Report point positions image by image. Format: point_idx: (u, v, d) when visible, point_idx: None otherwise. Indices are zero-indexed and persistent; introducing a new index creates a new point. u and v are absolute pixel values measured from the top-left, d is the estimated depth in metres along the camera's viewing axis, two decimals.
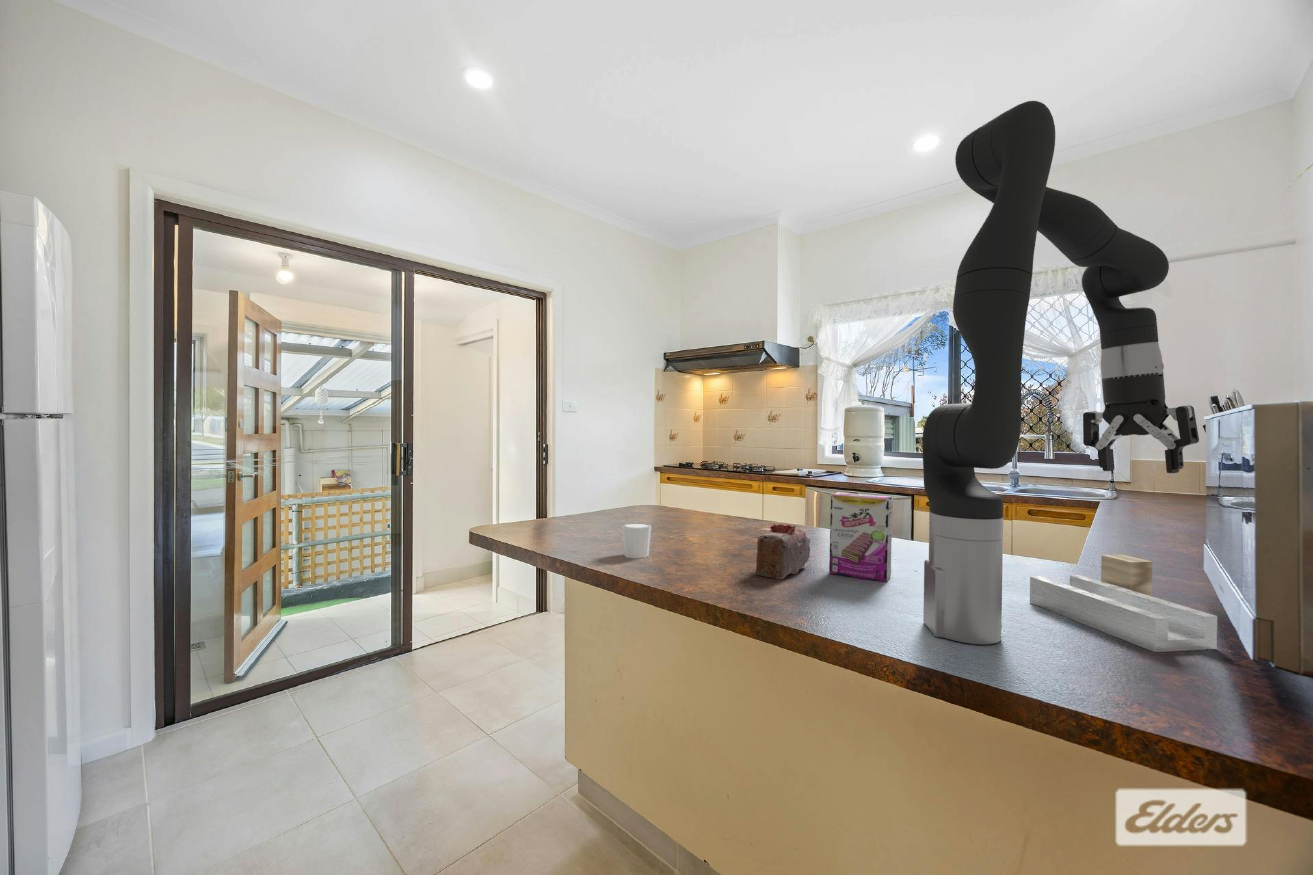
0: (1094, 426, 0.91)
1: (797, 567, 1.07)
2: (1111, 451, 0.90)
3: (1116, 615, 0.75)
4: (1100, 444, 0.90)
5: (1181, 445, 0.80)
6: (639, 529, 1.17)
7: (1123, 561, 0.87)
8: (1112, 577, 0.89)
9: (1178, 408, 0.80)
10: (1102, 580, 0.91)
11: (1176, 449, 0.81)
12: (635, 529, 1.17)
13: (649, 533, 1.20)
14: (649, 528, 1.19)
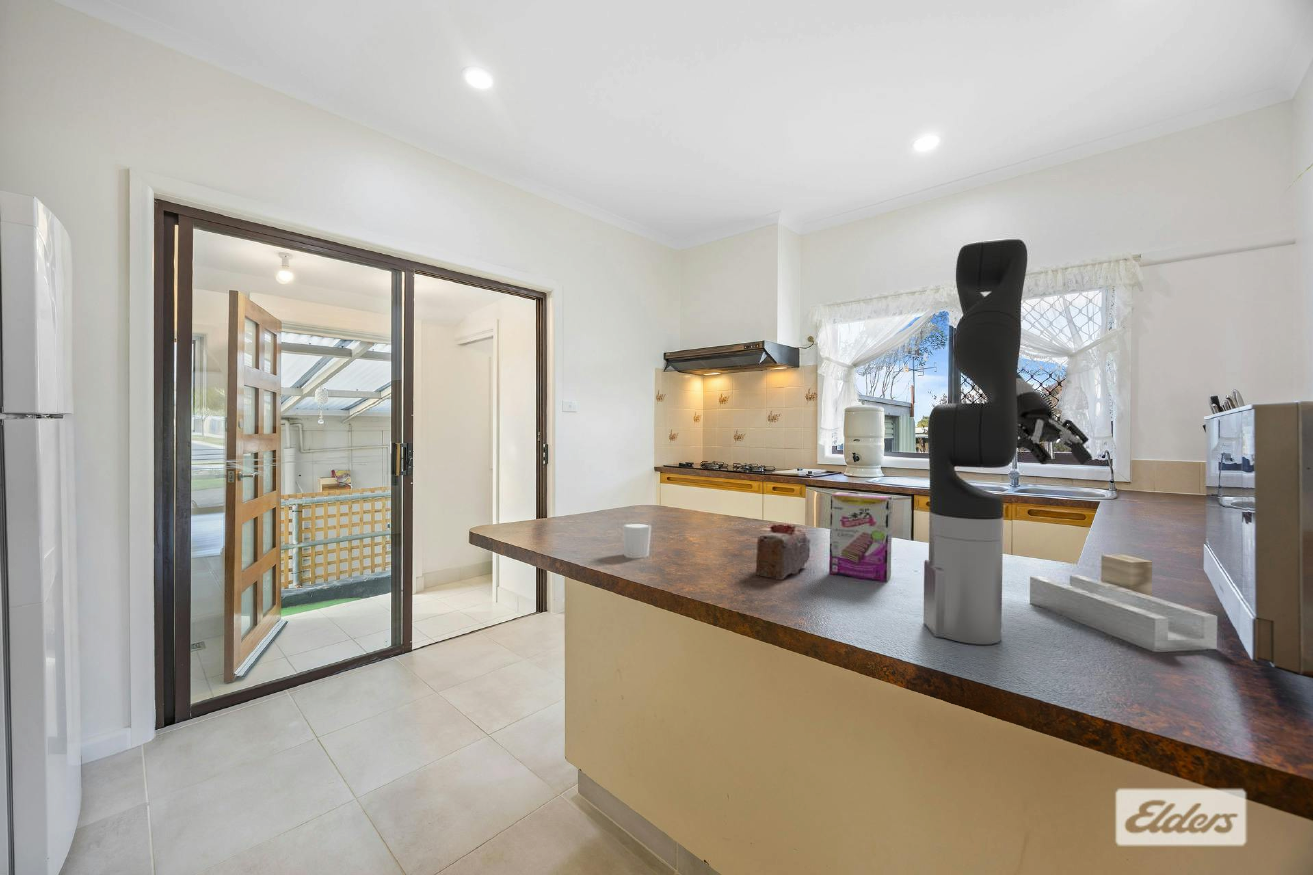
0: None
1: (797, 567, 1.07)
2: None
3: (1116, 615, 0.75)
4: (1035, 439, 1.02)
5: (1082, 442, 1.03)
6: (639, 529, 1.17)
7: (1123, 561, 0.87)
8: (1112, 577, 0.89)
9: (1067, 420, 1.06)
10: (1102, 580, 0.91)
11: (1081, 444, 1.02)
12: (635, 529, 1.17)
13: (649, 533, 1.20)
14: (649, 528, 1.19)
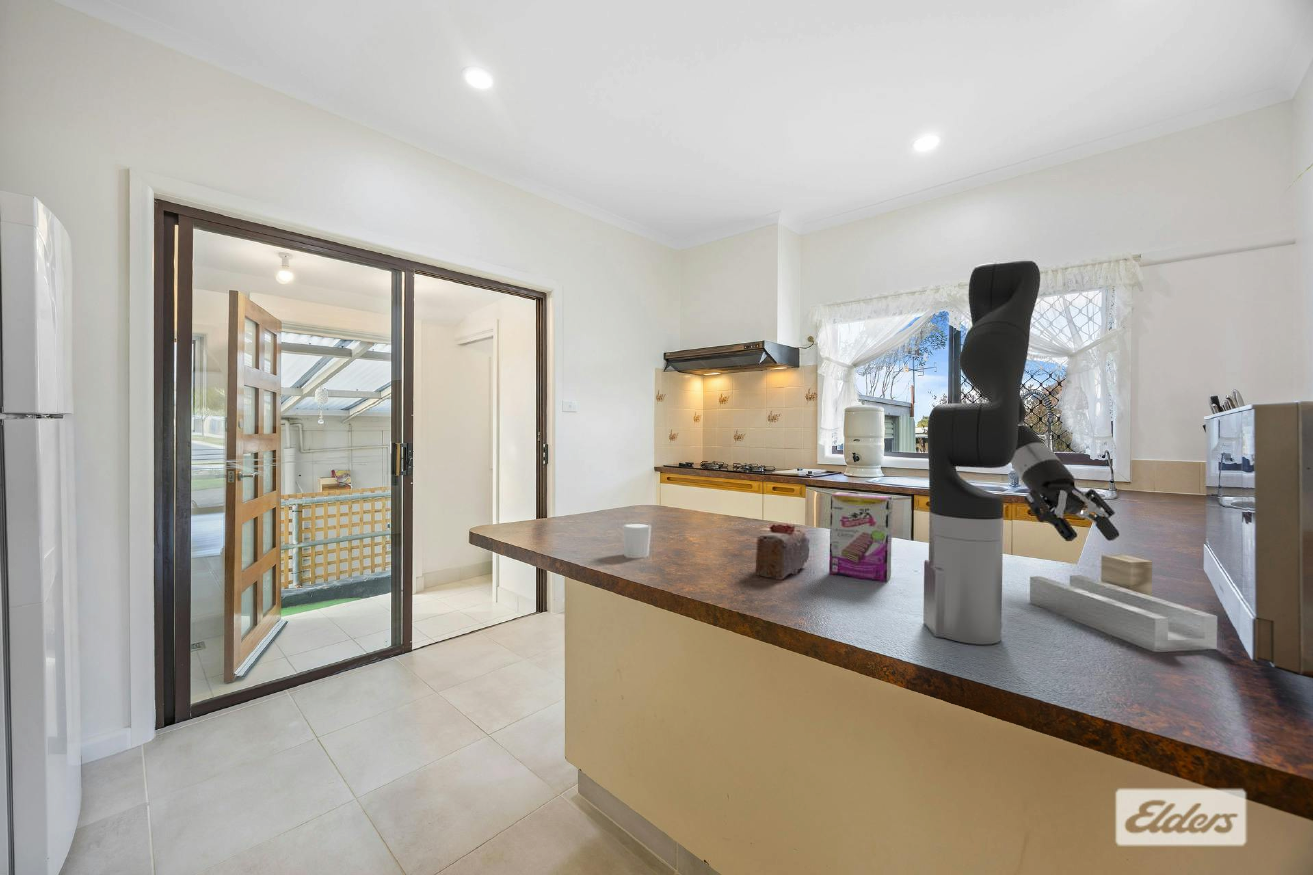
0: None
1: (796, 567, 1.07)
2: None
3: (1116, 615, 0.75)
4: (1059, 513, 0.96)
5: (1108, 516, 0.98)
6: (639, 529, 1.17)
7: (1123, 561, 0.87)
8: (1112, 577, 0.89)
9: (1091, 490, 1.01)
10: (1102, 580, 0.91)
11: (1107, 519, 0.97)
12: (635, 529, 1.17)
13: (649, 533, 1.20)
14: (649, 528, 1.19)
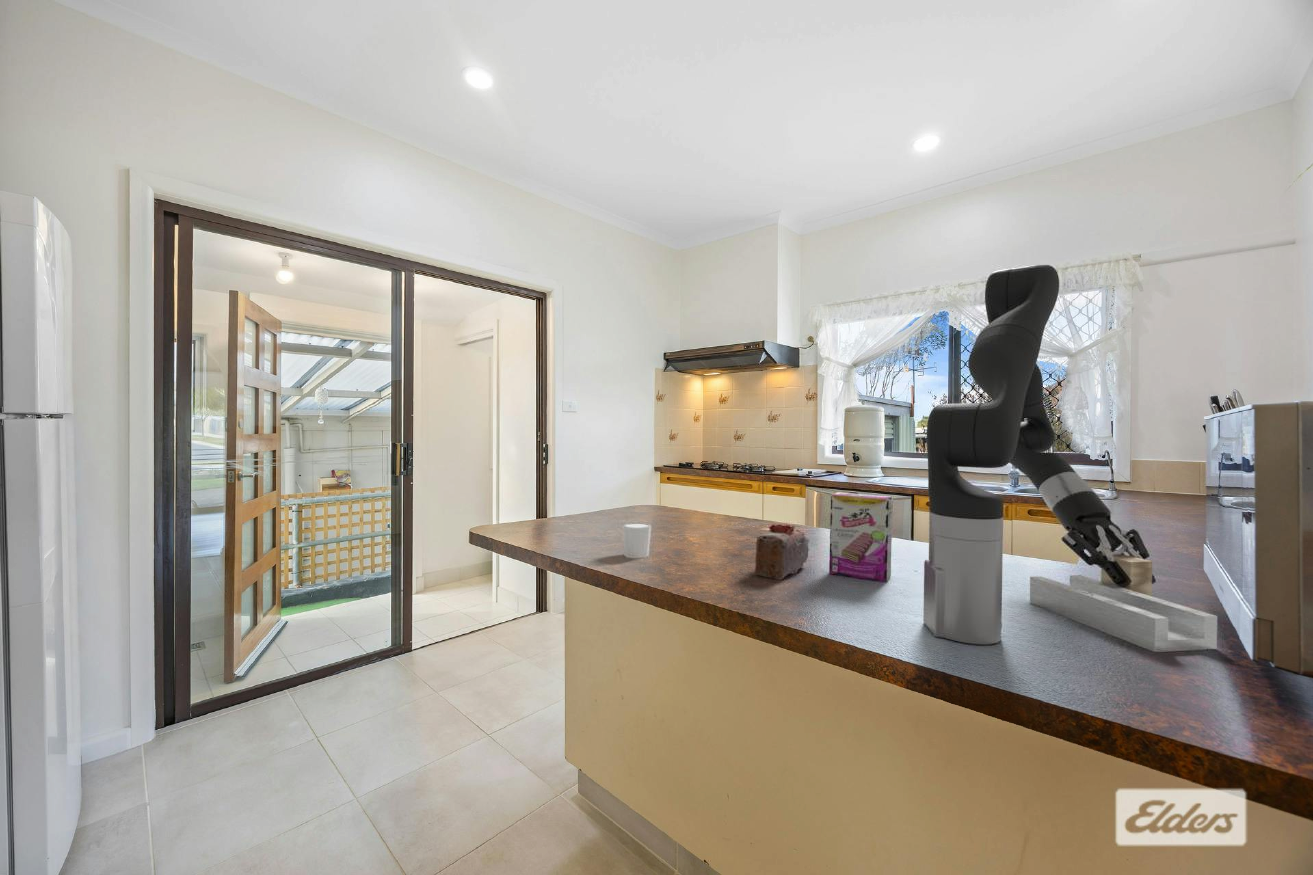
0: None
1: (796, 567, 1.07)
2: None
3: (1116, 615, 0.75)
4: (1109, 556, 0.89)
5: None
6: (639, 529, 1.17)
7: (1123, 561, 0.87)
8: None
9: (1133, 529, 0.93)
10: (1102, 580, 0.91)
11: None
12: (635, 529, 1.17)
13: (649, 533, 1.20)
14: (649, 528, 1.19)
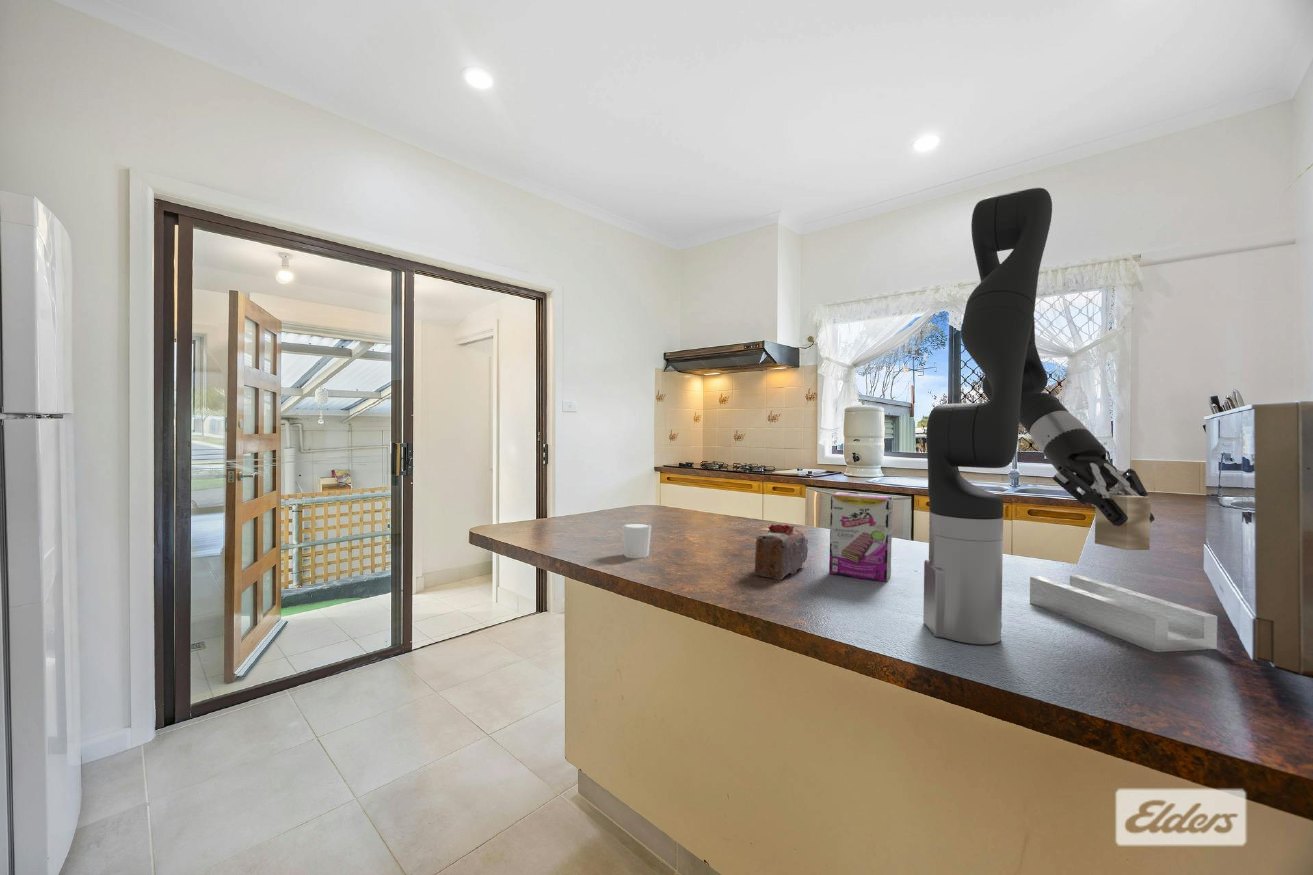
0: None
1: (795, 567, 1.07)
2: None
3: (1116, 615, 0.75)
4: (1104, 493, 0.82)
5: None
6: (639, 529, 1.17)
7: (1119, 497, 0.80)
8: None
9: (1130, 469, 0.86)
10: (1096, 521, 0.84)
11: None
12: (635, 529, 1.17)
13: (649, 533, 1.20)
14: (649, 528, 1.19)
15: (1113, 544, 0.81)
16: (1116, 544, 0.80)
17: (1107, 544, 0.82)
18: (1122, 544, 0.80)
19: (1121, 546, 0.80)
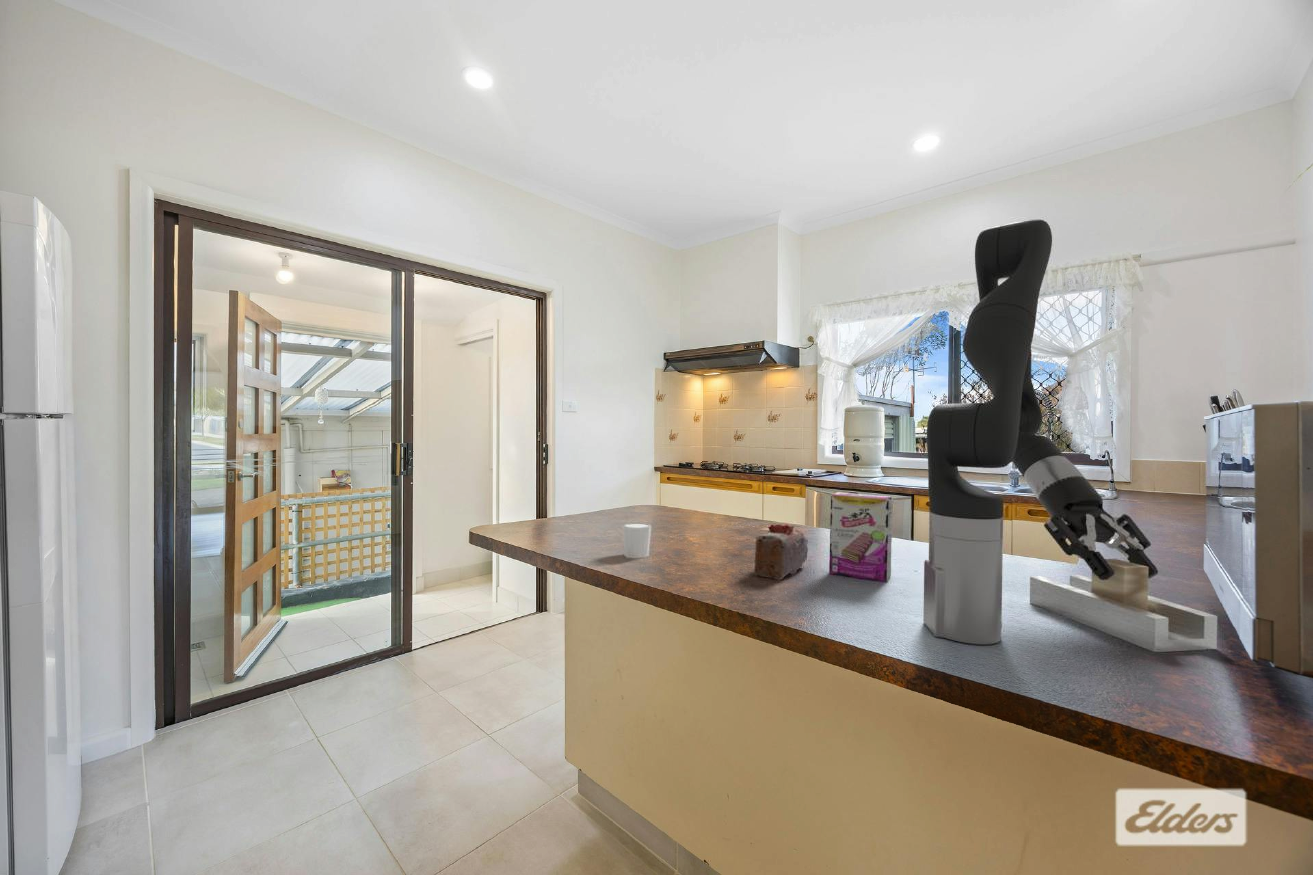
0: None
1: (795, 567, 1.06)
2: None
3: (1116, 615, 0.75)
4: (1091, 545, 0.79)
5: None
6: (639, 529, 1.17)
7: (1116, 566, 0.78)
8: (1103, 585, 0.79)
9: (1124, 515, 0.84)
10: (1092, 587, 0.81)
11: (1142, 551, 0.80)
12: (635, 529, 1.17)
13: (649, 533, 1.20)
14: (649, 528, 1.19)
15: None
16: None
17: None
18: None
19: None
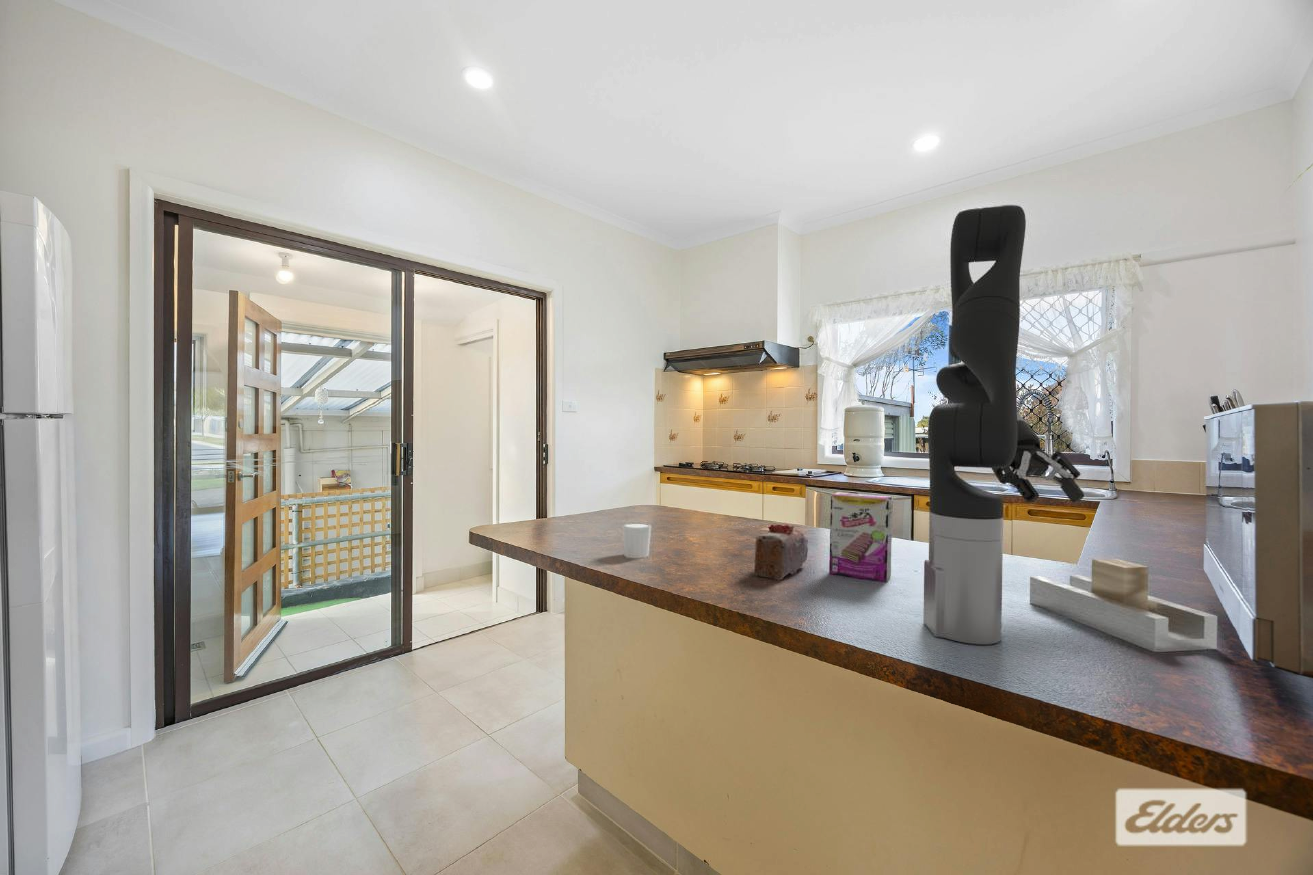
0: None
1: (795, 567, 1.06)
2: None
3: (1116, 615, 0.75)
4: (1021, 474, 0.92)
5: (1073, 477, 0.93)
6: (639, 529, 1.17)
7: (1116, 566, 0.78)
8: (1103, 585, 0.79)
9: (1057, 451, 0.96)
10: (1092, 587, 0.81)
11: (1072, 480, 0.92)
12: (635, 529, 1.17)
13: (649, 533, 1.20)
14: (649, 528, 1.19)
15: None
16: None
17: None
18: None
19: None
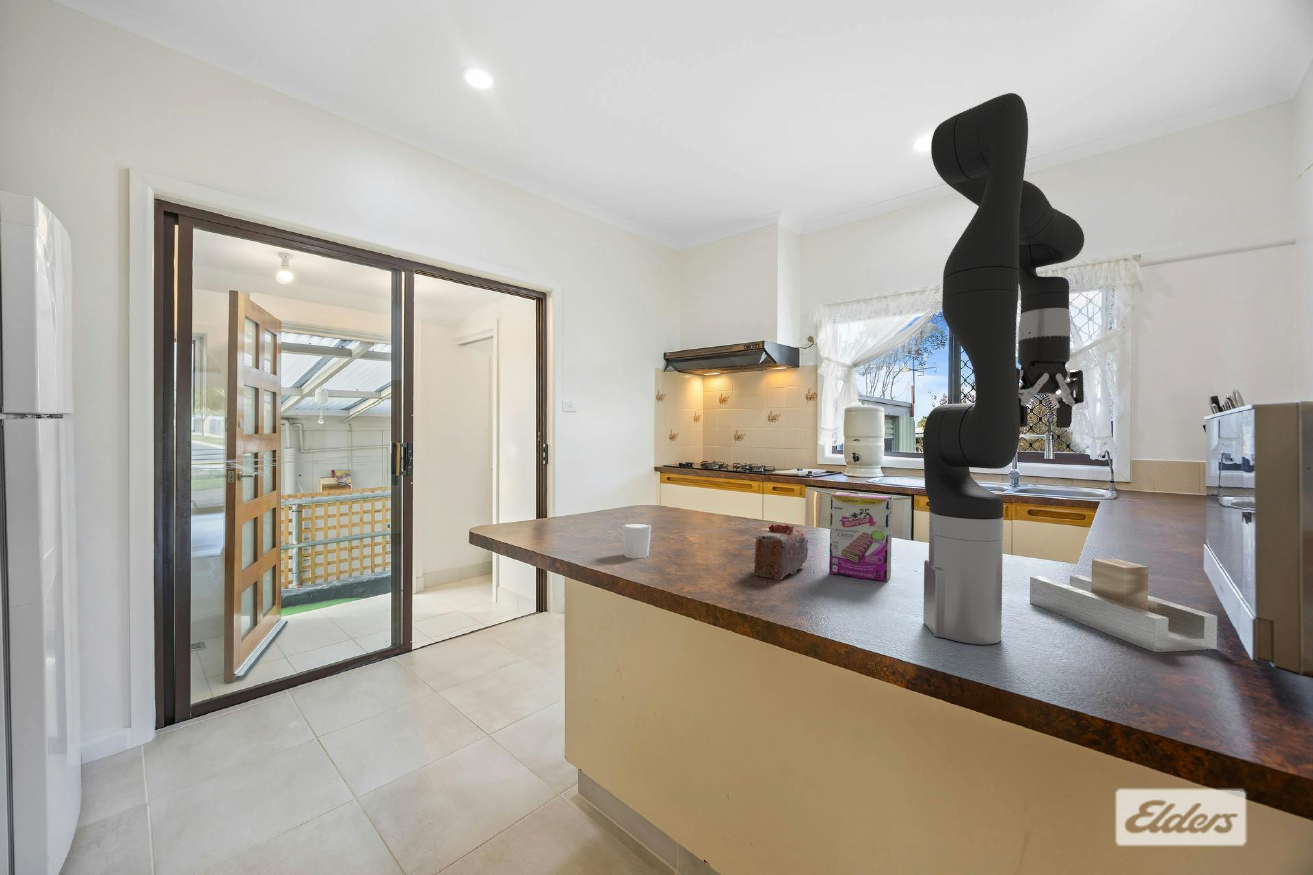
0: None
1: (795, 567, 1.06)
2: None
3: (1116, 615, 0.75)
4: (1025, 400, 0.92)
5: (1074, 403, 0.94)
6: (639, 529, 1.17)
7: (1116, 566, 0.78)
8: (1103, 585, 0.79)
9: (1079, 371, 0.94)
10: (1092, 587, 0.81)
11: (1071, 407, 0.94)
12: (635, 529, 1.17)
13: (649, 533, 1.20)
14: (649, 528, 1.19)
15: None
16: None
17: None
18: None
19: None
